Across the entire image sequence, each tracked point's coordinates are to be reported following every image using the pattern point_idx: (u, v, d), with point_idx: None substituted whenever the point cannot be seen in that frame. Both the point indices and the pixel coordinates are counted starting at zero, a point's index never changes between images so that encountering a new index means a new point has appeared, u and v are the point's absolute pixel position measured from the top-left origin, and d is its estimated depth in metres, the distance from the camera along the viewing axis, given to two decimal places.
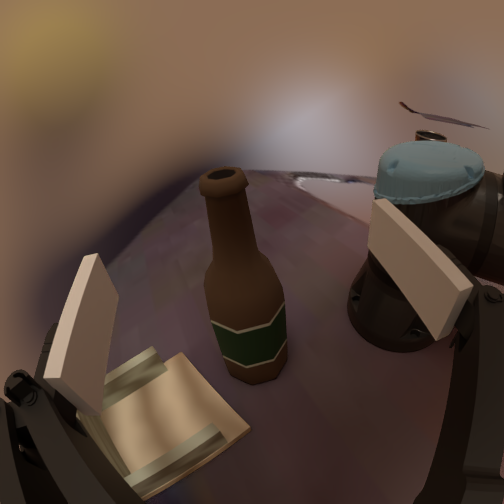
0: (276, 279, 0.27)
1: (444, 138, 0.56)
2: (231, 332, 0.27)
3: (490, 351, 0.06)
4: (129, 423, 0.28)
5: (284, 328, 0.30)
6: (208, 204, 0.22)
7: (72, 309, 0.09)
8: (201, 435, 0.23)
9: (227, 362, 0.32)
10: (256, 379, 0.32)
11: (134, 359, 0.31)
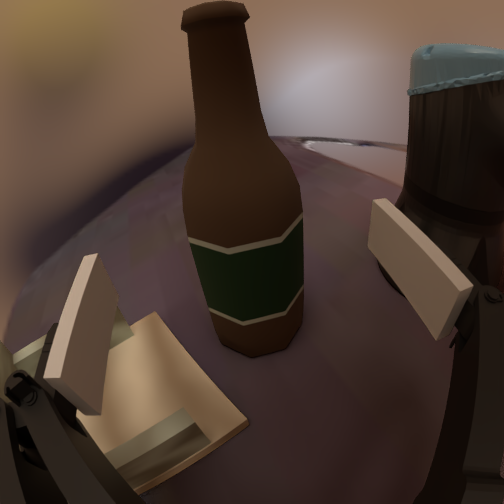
0: (290, 170, 0.17)
1: None
2: (219, 254, 0.17)
3: (490, 351, 0.06)
4: None
5: (301, 263, 0.21)
6: (191, 39, 0.12)
7: (72, 309, 0.09)
8: (164, 428, 0.14)
9: (215, 320, 0.22)
10: (258, 347, 0.22)
11: None
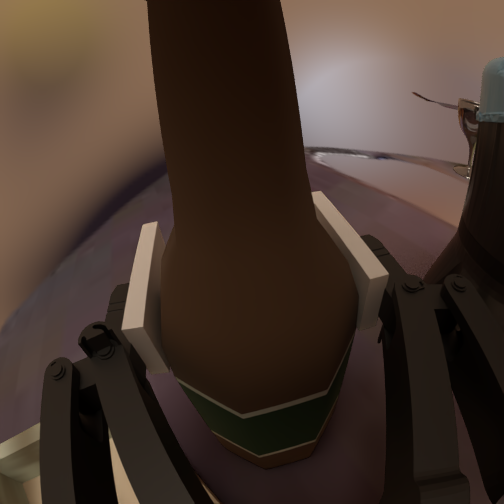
0: (350, 276, 0.09)
1: None
2: (227, 411, 0.10)
3: (419, 347, 0.07)
4: None
5: (341, 381, 0.13)
6: (152, 10, 0.04)
7: (143, 267, 0.11)
8: None
9: (220, 439, 0.14)
10: (276, 464, 0.15)
11: None
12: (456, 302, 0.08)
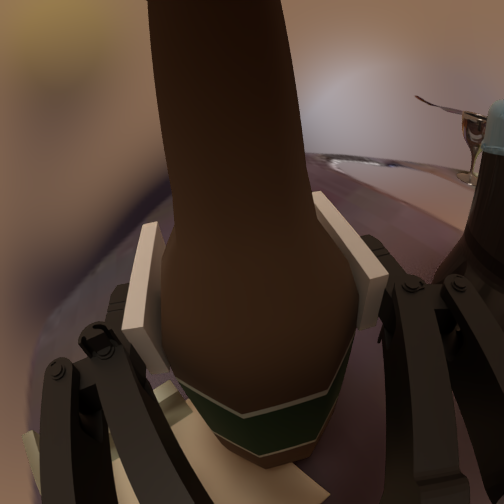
0: (350, 276, 0.09)
1: None
2: (227, 411, 0.10)
3: (419, 347, 0.07)
4: None
5: (341, 381, 0.13)
6: (152, 10, 0.04)
7: (143, 267, 0.11)
8: None
9: (220, 439, 0.14)
10: (276, 464, 0.15)
11: None
12: (456, 302, 0.08)
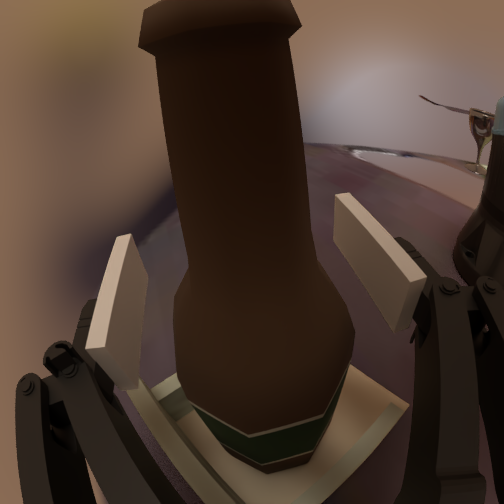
0: (347, 317, 0.10)
1: (494, 117, 0.48)
2: (234, 431, 0.10)
3: (451, 346, 0.07)
4: None
5: (337, 399, 0.14)
6: (162, 79, 0.05)
7: (111, 283, 0.10)
8: (382, 423, 0.15)
9: (225, 448, 0.15)
10: (276, 470, 0.16)
11: None
12: (486, 302, 0.08)
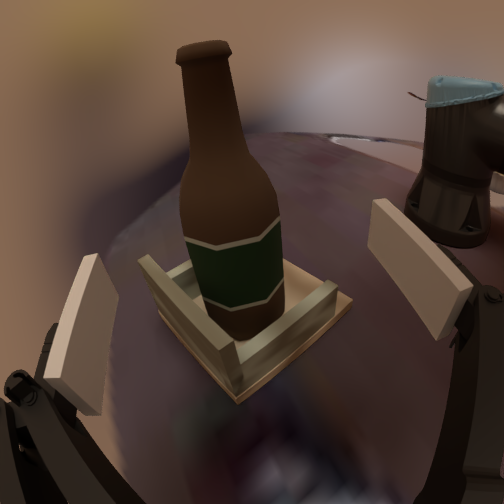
0: (268, 180, 0.21)
1: None
2: (209, 250, 0.21)
3: (490, 351, 0.06)
4: None
5: (280, 259, 0.24)
6: (183, 74, 0.16)
7: (72, 309, 0.09)
8: (320, 291, 0.25)
9: (207, 307, 0.26)
10: (245, 331, 0.26)
11: None
12: None
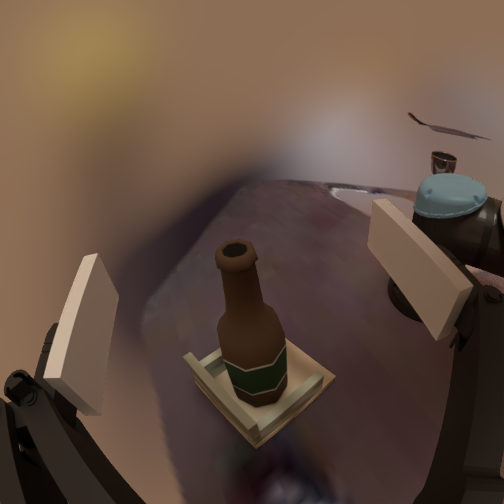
0: (279, 328, 0.31)
1: (454, 158, 0.68)
2: (240, 370, 0.31)
3: (490, 351, 0.06)
4: None
5: (285, 363, 0.34)
6: (223, 275, 0.26)
7: (72, 309, 0.09)
8: (311, 380, 0.35)
9: (235, 389, 0.36)
10: (260, 403, 0.36)
11: None
12: None
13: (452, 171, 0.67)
